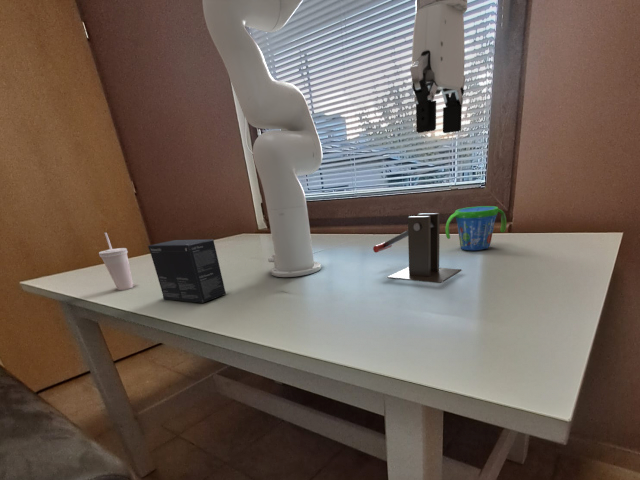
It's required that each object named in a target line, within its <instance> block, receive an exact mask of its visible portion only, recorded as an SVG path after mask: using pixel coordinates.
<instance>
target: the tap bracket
mask: <svg viewBox="0 0 640 480" xmlns="http://www.w3.org/2000/svg"><path fill="white" fill-rule="evenodd" d="M428 215H430V216H428ZM440 215H441V214H440V212H435V213H433V212H431V213H429V212H428V213H427V212H426V213H418V214H417V216H415V215H413V216H412V215H411V216H410V215H409V216H408V217H407V230H408V236H407V237H408V238H407V239H408V240H407V242H408V266H407V267H405V268H403V269H401V270H398V271H397V272H395V273H392V274H390V275H389V276H387V279H392V280H393V279H395V280H403V281H414V282H424V283H434V284H443V282H445V281H447V280H448V279H450V278H452V277H454V276H455V275H456V274H458V273H460V272H461V271H462V269H460V268H446V267H440V234H441V233H440V231H441V230H440V229H441V228H440V226H441V223H440V222H441V219H440V217H441V216H440ZM431 219H432V221H433V224H434V227H432V228H431Z"/></svg>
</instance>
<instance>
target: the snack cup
mask: <svg viewBox="0 0 640 480" xmlns="http://www.w3.org/2000/svg"><path fill="white" fill-rule="evenodd" d="M498 213H499V214H500V229H499V232H500V233H502V234H503V233H505V231H506V230H507V217H506V213H505V211H503V210H502V209H500V208H499V207H498V206H494V205H493V206H492V205H479V206H469V207H463V208H458V209H456V210H455V211H454V213H452V214H451V215H450V216H449V217H448V219H447V220H446V223H445V229H444V231H445V237H446V239H447V240H450V239H451V235H450V234H451V233H450V223H451V222H452V221H453V219H454V218H455V220H456V224H457V231H458V232H457V233H458V239H459V240H458V241H459V246H460V249H461V250H463V251H473V252H475V251H482V250H487V249H489V247H490V246H491V242H492V238H493V233H494V228H495V223H496V219H497V216H498Z"/></svg>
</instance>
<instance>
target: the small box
mask: <svg viewBox="0 0 640 480" xmlns="http://www.w3.org/2000/svg"><path fill="white" fill-rule="evenodd" d="M147 247H148V250H149V254H150V256H151V260H152V263H153V266H154V270H155V273H156V276H157V279H158V280H157V281H158V283H159V287H160V289H161V290H160V291H161V293H162V298H163V300H166V301H177V302H187V303H189V302H190V303H201V304H204V303H206V302H209V301H212V300H214V299H217V298H219V297H221V296H224V295H226V294H227V293H226V288H225V284H224V279H223V275H222V272H221V267H220V263H219V262H220V261H219V258H218V254H217V253H218V252H217V250H216V244H215V240H214V239H212V238H211V239H174V240H169V241H168V240H167V241H164V242H159V243H154V244H150V245H147Z"/></svg>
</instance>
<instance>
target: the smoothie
mask: <svg viewBox="0 0 640 480" xmlns="http://www.w3.org/2000/svg"><path fill="white" fill-rule="evenodd" d="M103 234H104V236H105V239H106V242H107V245H108V248H109V249H105V250H101V251H99V252H98V256H99V258H101V260H102V261H103V264H104V266H105V267H106V269H107V271H108V273H109V275H110V278H111V279H112V281H113V283H114V285H115V287H116V289H117V291H124V290H125V291H126V290H130V289H132V288H134V282H133V276H132V273H131V268H130V267H131V266H130V263H129V256H128V253H129V251H128V248H126V247H119V248H113V246H112V244H111V241H110V238H109V235H108V233H107V232H104V233H103Z"/></svg>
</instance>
